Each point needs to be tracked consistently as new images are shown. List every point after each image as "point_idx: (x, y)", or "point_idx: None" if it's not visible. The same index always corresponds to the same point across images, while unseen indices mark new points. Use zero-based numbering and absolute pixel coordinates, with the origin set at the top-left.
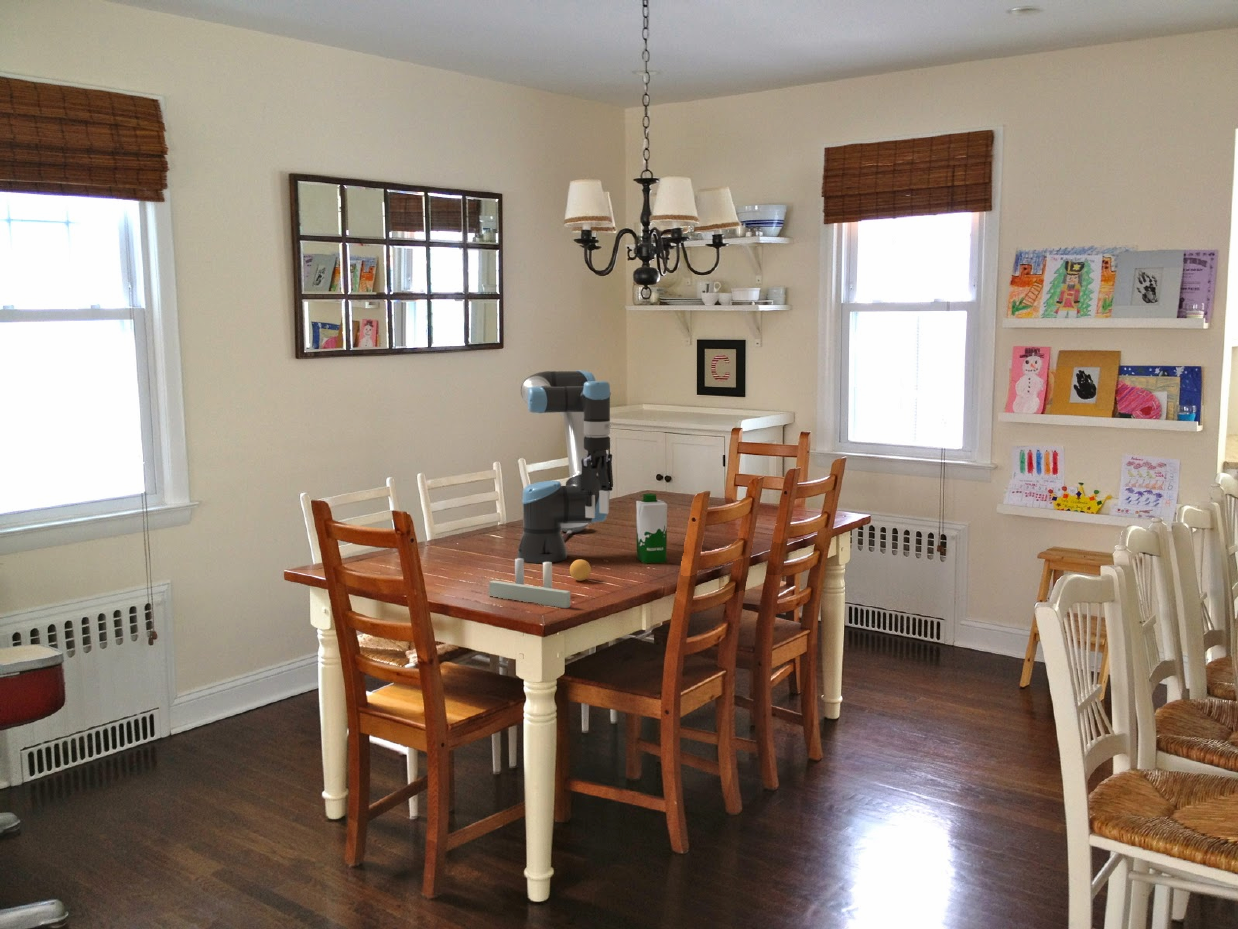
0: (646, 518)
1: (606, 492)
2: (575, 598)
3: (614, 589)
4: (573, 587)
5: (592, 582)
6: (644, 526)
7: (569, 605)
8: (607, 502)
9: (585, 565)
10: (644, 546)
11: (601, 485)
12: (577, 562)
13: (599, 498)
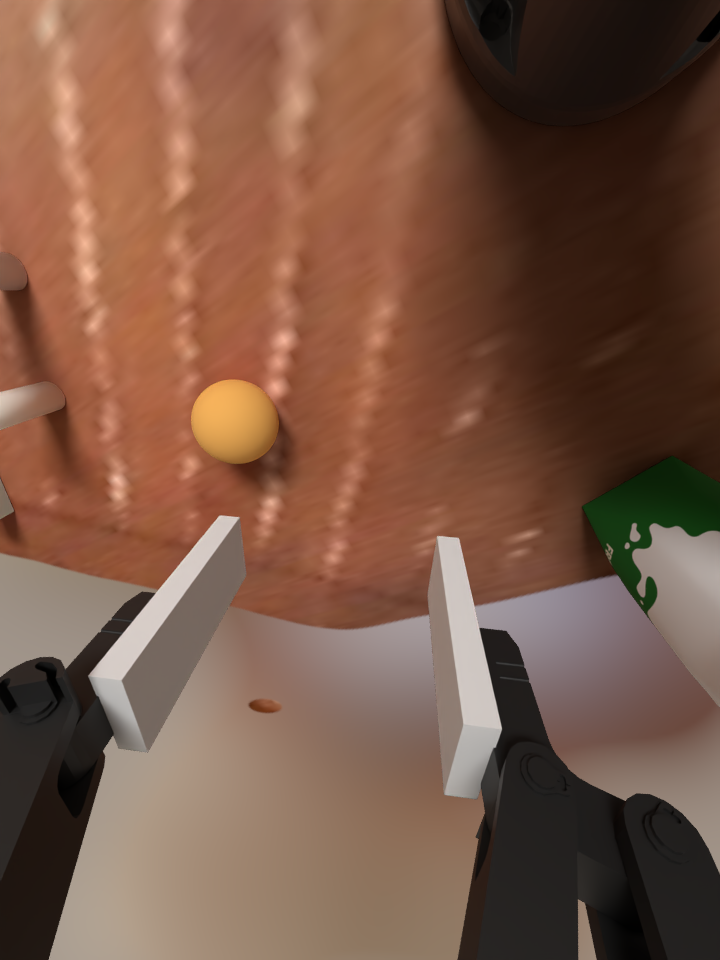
0: (704, 656)
1: (444, 772)
2: (78, 490)
3: None
4: (166, 430)
5: None
6: (678, 608)
7: (7, 512)
8: (435, 670)
9: (217, 458)
10: (620, 543)
11: (490, 841)
12: (198, 432)
13: (451, 634)
